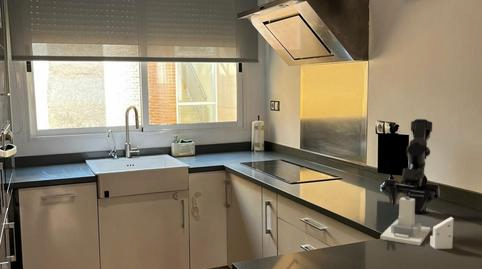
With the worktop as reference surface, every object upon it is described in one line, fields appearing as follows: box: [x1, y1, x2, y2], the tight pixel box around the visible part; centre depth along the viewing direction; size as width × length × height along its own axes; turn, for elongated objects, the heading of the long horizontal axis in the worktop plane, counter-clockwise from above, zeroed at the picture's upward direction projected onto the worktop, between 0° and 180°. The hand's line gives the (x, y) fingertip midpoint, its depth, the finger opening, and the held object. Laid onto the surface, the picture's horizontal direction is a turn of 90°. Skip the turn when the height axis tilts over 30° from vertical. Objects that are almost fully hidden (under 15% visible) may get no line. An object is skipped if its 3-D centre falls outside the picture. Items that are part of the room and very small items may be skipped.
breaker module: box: [397, 195, 416, 228], centre depth 170 cm, size 5×4×12 cm
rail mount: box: [379, 218, 431, 247], centre depth 171 cm, size 18×13×4 cm
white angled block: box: [429, 216, 454, 250], centre depth 158 cm, size 4×10×9 cm, turn 92°
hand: (407, 208), depth 171 cm, fingers open, 9 cm apart
